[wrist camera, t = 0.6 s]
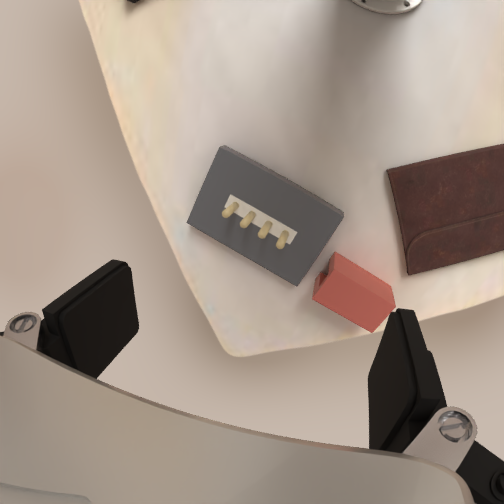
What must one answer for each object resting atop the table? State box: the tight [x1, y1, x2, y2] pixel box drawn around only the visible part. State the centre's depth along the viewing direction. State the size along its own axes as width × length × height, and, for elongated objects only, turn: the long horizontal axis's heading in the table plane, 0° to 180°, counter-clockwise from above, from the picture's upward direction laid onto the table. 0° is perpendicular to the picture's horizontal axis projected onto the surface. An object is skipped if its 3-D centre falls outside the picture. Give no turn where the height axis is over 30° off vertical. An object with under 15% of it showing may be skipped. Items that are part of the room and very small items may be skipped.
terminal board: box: [187, 146, 344, 286], centre depth 40 cm, size 12×18×6 cm, turn 64°
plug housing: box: [312, 252, 396, 333], centre depth 41 cm, size 5×10×6 cm, turn 64°
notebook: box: [387, 144, 504, 275], centre depth 35 cm, size 15×20×2 cm
